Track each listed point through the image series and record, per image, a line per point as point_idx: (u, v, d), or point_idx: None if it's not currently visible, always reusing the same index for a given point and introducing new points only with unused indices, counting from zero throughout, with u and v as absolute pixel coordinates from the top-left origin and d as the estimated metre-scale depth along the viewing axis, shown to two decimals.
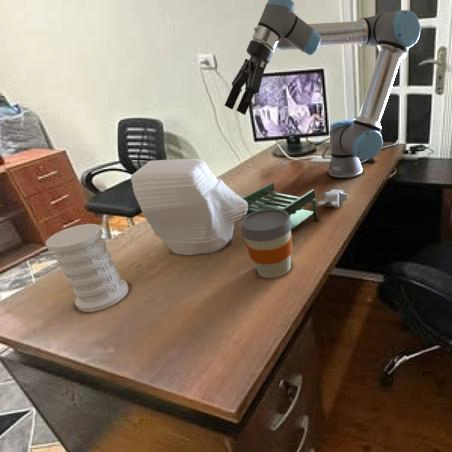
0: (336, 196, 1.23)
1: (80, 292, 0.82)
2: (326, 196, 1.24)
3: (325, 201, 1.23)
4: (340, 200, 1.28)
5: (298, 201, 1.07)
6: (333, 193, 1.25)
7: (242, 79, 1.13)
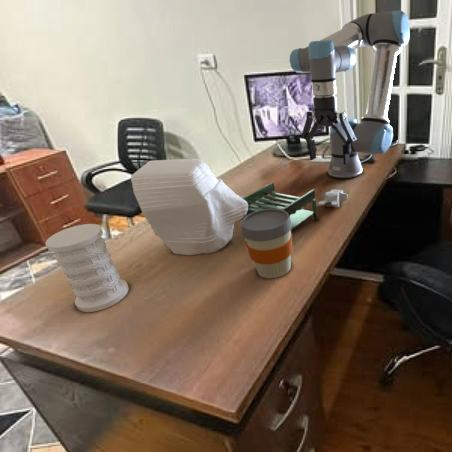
0: (336, 196, 1.23)
1: (80, 292, 0.82)
2: (326, 196, 1.24)
3: (325, 201, 1.23)
4: (340, 200, 1.28)
5: (298, 201, 1.07)
6: (333, 193, 1.25)
7: (315, 131, 1.17)
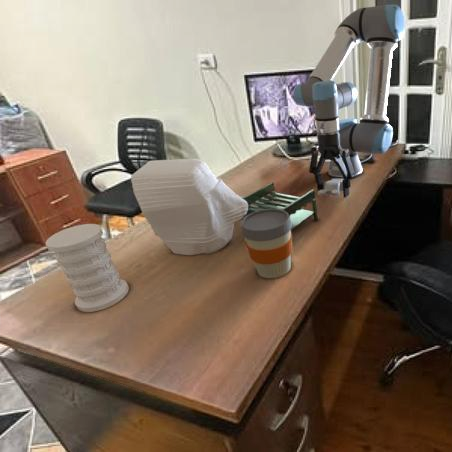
0: (336, 185, 1.22)
1: (80, 292, 0.82)
2: (326, 185, 1.23)
3: (325, 190, 1.21)
4: (341, 189, 1.27)
5: (298, 201, 1.07)
6: (334, 182, 1.23)
7: (321, 165, 1.23)
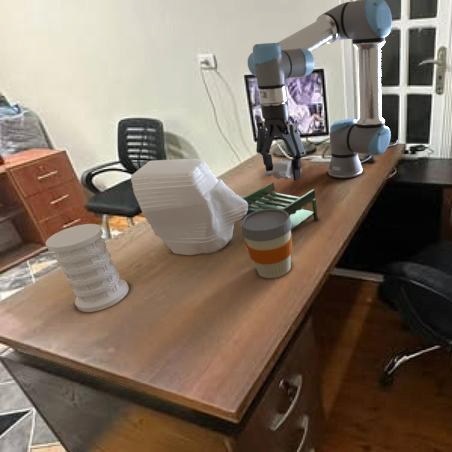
0: (285, 166, 1.06)
1: (80, 292, 0.82)
2: (274, 166, 1.07)
3: (272, 171, 1.06)
4: None
5: (298, 201, 1.07)
6: (283, 163, 1.08)
7: (269, 143, 1.07)
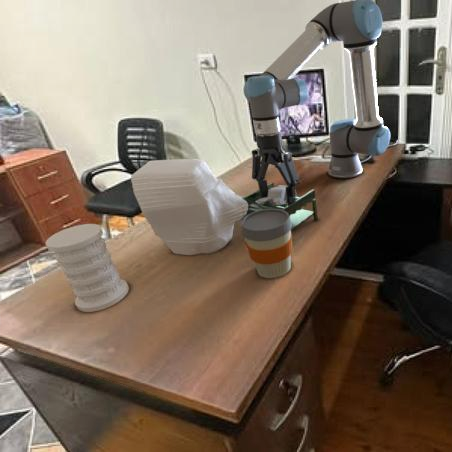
0: (280, 192, 1.09)
1: (80, 292, 0.82)
2: (269, 192, 1.09)
3: (267, 198, 1.08)
4: None
5: (298, 201, 1.07)
6: (278, 189, 1.10)
7: (264, 170, 1.10)
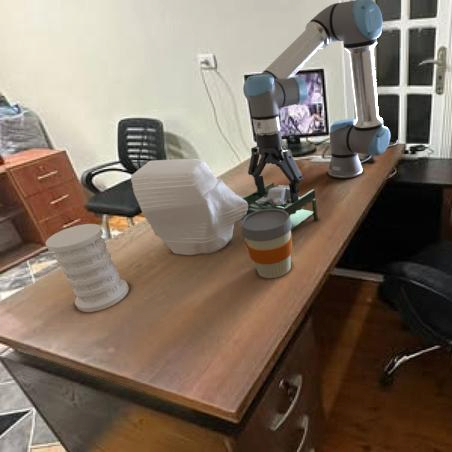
0: (280, 192, 1.09)
1: (80, 292, 0.82)
2: (269, 192, 1.09)
3: (267, 198, 1.08)
4: (287, 197, 1.13)
5: (298, 201, 1.07)
6: (278, 189, 1.10)
7: (262, 167, 1.10)
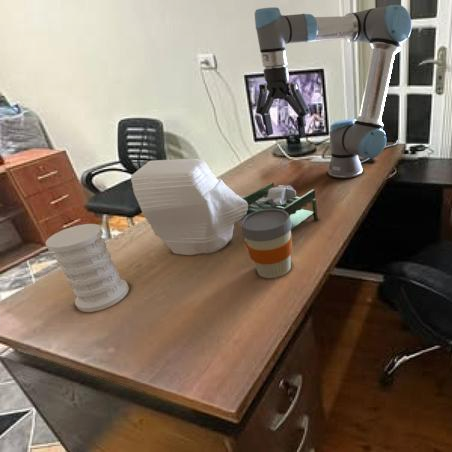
0: (280, 192, 1.09)
1: (80, 292, 0.82)
2: (269, 192, 1.09)
3: (267, 198, 1.08)
4: (287, 197, 1.13)
5: (298, 201, 1.07)
6: (278, 189, 1.10)
7: (269, 104, 1.15)
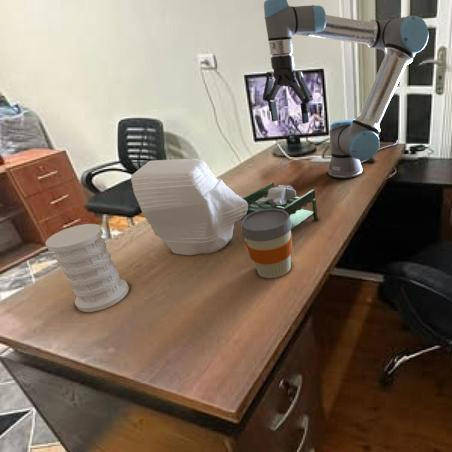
0: (280, 192, 1.09)
1: (80, 292, 0.82)
2: (269, 192, 1.09)
3: (267, 198, 1.08)
4: (287, 197, 1.13)
5: (298, 201, 1.07)
6: (278, 189, 1.10)
7: (275, 91, 1.21)
